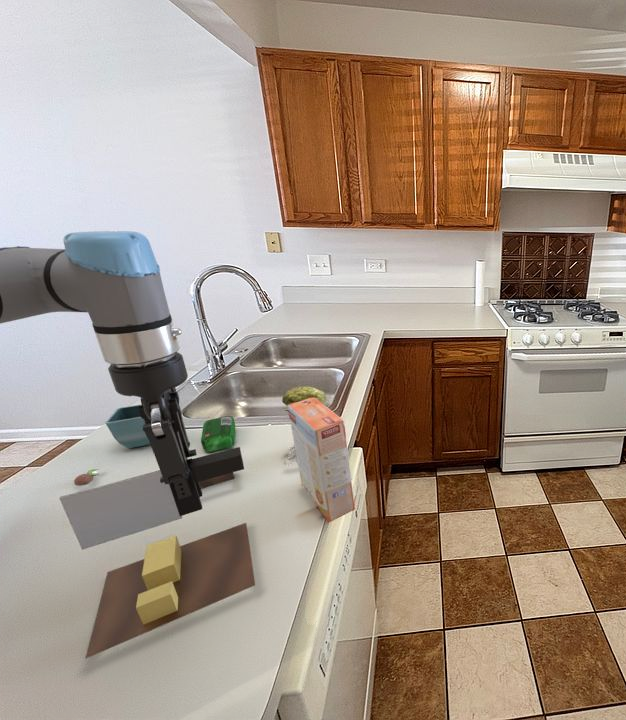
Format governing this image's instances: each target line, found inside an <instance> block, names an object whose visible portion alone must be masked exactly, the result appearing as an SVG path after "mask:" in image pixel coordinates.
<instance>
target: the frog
mask: <svg viewBox="0 0 626 720" xmlns="http://www.w3.org/2000/svg"><path fill="white" fill-rule="evenodd" d="M313 397H315V398H316V399H318V400H319V401H320V402H321V403H322V404H324V405H325V404H326V402H327V396H326V392H324V391H322V390H320V389H317V388H316V387H313V386H298V387H297V386H296V387H293V388H291V389H290V390H286V392H285V394H284V395H283V396H282V400H281V401H282V404H284V405H285V406H286V407H282V409H283V411H284V412H288V406H287V405H289V404H292V403H295V402H299V401H302V400H305V399H308V398H313ZM288 450H290V451H288V452H287V453H288V457H287V458H286V460H284V461H283V462H282V463H283V464H284V465H287V466H288V467H289V466H290V465H293V464H296V463H298V461H297V456H296V450H295V445H294V444H292V445H291V446H289V448H288ZM292 454H293V455H292Z"/></svg>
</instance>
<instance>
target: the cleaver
mask: <svg viewBox="0 0 626 720" xmlns="http://www.w3.org/2000/svg"><path fill="white" fill-rule="evenodd" d="M242 455H243V454H242V450H241V447H240V446H237V447H233V448H229V449H225V450H221V451H219V452H214V453H210V454H206V455H202V456H198V457H194V458H192V459H191V458H189V459H190V460H186V461H187V464H188V468H189V469H190V470H191V471H192V474H193V477H194V481H195V483H197V482H200V481H204V480H207V479H211V478H215V477H218V476H222V475H225V474H229V473H232V472H234V473H237V472H240V471H243V470H245V465H244V459H243V456H242ZM157 471H158V472H155V471H153V472H154V473H151V472H149V473H150V474H148V473H145V474H146V475H144V474H141V475H142V476H140V475H137V476H138V477H137V476H134V477H135V478H133V477H130V478H131V479H129V478H126V479H127V480H125V479H122V480H123V481H122V480H119V482H118V481H114V482H115V483H114V482H111V483H107V484H103V485H100V486H96V487H92V488H88V489H84V490H81V491H77V492H73V493H69V494H65V495H60V497H59V498H58V499H59V501H60V503H61V506H62V508H63V510H64V512H65V514H66V517H67V519H68V521H69V524H70V525H71V528H72V530H73V532H74V534H75V538H76V539H77V541H78V544H79V546H80V548H81V550H82V551H83V550H87V549H89V548H92V547H95V546H99V545H102V544H105V543H108V542H111V541H115V540H118V539H121V538H124V537H127V536H131V535H133V534H137V533H140V532H143V531H147V530H149V529H153V528H157V527H159V526H162V525H165V524H169V523H173V522H175V521H178V520H181V519H183V516H179V512H178V509H177V506H176V503H175V500H174V497H173V494H172V491H171V488H170V485H169V484H165V482H163V483H161V482H160V478H161V477H162V474H161V471H159V470H157Z"/></svg>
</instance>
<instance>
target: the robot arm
mask: <svg viewBox="0 0 626 720" xmlns="http://www.w3.org/2000/svg"><path fill="white" fill-rule="evenodd" d="M62 240H63V241H62V242H63V245H64V248H46V247H45V248H41V247H39V248H38V247H29V246H20V245H17V246H11V247H9V246H8V247H7V246H5V247H0V325H1V324H5V323H10V322H14V321H18V320H22V319H28V318H32V317H36V316H40V315H45V314H51V313H88V316H89V317H90V320H91V323H92V324H91V325H92V328H93V331H94V334H95V337H96V340H97V343H98V346H99V349H100V352H101V355H102V358H103V361H104V362H105V363H107V364H109V366H108V367H107V370H108V373H109V376H110V379H111V381H112V384H113V387H114V390H115V392H116V393H117V394H119V395H121V396H125V397H138V398H140V403H141V404H142V405H141V404H138V405H139V406H138V409H139V413H140V416H141V418H142V419H144V421H145V424H144V425H143V431H144V432H145V434H146V436H147V438H148V440H149V442H150V444H149V445H150V446H151V450H152V452H153V455H154V458H155V460H156V463H157V466H158V469H159V470H160V471H161V474H162V477H161V478H160V482H161V483H163V482H165V484H169V485H170V488H171V491H172V494H173V497H174V500H175V503H176V506H177V509H178V512H179V516H182V517H183V516H186V515H189V514H192V513H195V512H198V511H202V510H203V504H202V500H201V497H203V490H202V489H201V487H200V484H199V482H197V483H195V481H194V477H193V474H192V471H191V470H190V469H189V468H188V464H187V461H186V460H190V459H193V458H192V457H195V456H197V455H198V454H197V449H196V448H194V449H190V447H191V441H190V440H189V437H188V434H187V429H186V427H185V423H184V420H183V412H182V409H181V405H180V395H179V392H178V391H177V388H178V387H179V386H181V385H183V384H184V383H185V382H186V381H187V379H188V378H189V375H188V371H187V368H186V364H185V360H184V356H183V354H181V353H180V352H178V351H179V350H180V345H179V340H178V337H177V336H181V335H182V333H183V332H182V330H181V328H179V327H174V323H173V318H172V315H171V311H170V308H169V304H168V300H167V297H166V293H165V289H164V284H163V280H162V276H161V272H160V271H161V269H160V265H159V264H158V261H157V259H156V256H155V253H154V251H153V248H152V246H151V243H150V240H149V239H148V237H147V236H146V235H144V234H143V233H140V232H138V231H131V230H130V231H129V230H117V231H114V230H113V231H112V230H111V231H110V230H108V231H107V230H102V231H101V230H99V231H96V230H95V231H77V232H69V233H67V234H65V235H64V236H63V239H62ZM173 327H174V328H173Z"/></svg>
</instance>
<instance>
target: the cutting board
mask: <svg viewBox="0 0 626 720" xmlns="http://www.w3.org/2000/svg"><path fill="white" fill-rule="evenodd" d="M180 548H181V569H180V580H179V581H176V582H174V583H173V585H174V588H175V590H176V593H177V596H178V610H177V611H175V612H173V613H171V614H168V615H166V616H163V617H161V618H159V619H156V620H154V621H152V622H149V623H147V624H144V625H143V623H142V621H141V618H140V616H139V614H138V611H137V609H136V605H137V599H138V594H140V593H143V592H146V591H148V590H147V587H146V585H145V583H144V580H143V578H142V572H143V565H144V559H145V558H143V559H139V560H136V561H135V562H132V563H129V564H126V565H124V566H120V567H118V568H115V569H113V570H110V571H107V573H106V577H105V581H104V584H103V589H102V593H101V597H100V599H99V605H98V608H97V612H96V617H95V620H94V624H93V628H92V631H91V636H90V639H89V644H88V646H87V652H86V655H85V659H88V658H91V657H92V656H95V655H97V654H100V653H103V652H104V651H107V650H109V649H111V648H114V647H116V646H119V645H121V644H123V643H125V642H128V641H130V640H132V639H135V638H137V637H139V636H142V635H143V634H146V633H148V632H150V631H153V630H155V629H157V628H160V627H162V626H165V625H167V624H169V623H171V622H174V621H176V620H178V619H180V618H183V617H186V616H187V615H190V614H192V613H194V612H197V611H199V610H201V609H203V608H207V607H209V606H211V605H212V604H216V603H217V602H220V601H223V600H224V599H227V598H229V597H231V596H233V595H236V594H239V593H240V592H242V591H246V590H248V589H250V588H253V587H255V586H256V581H255V574H254V567H253V561H252V553H251V545H250V540H249V531H248V525H247V522H244V523H241V524H239V525H236V526H233V527H230V528H227V529H225V530H222V531H218V532H216V533H213V534H210V535H207V536H205V537H202V538H199V539H196V540H194V541H191V542H187V543H185V544H182V545H180Z"/></svg>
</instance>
